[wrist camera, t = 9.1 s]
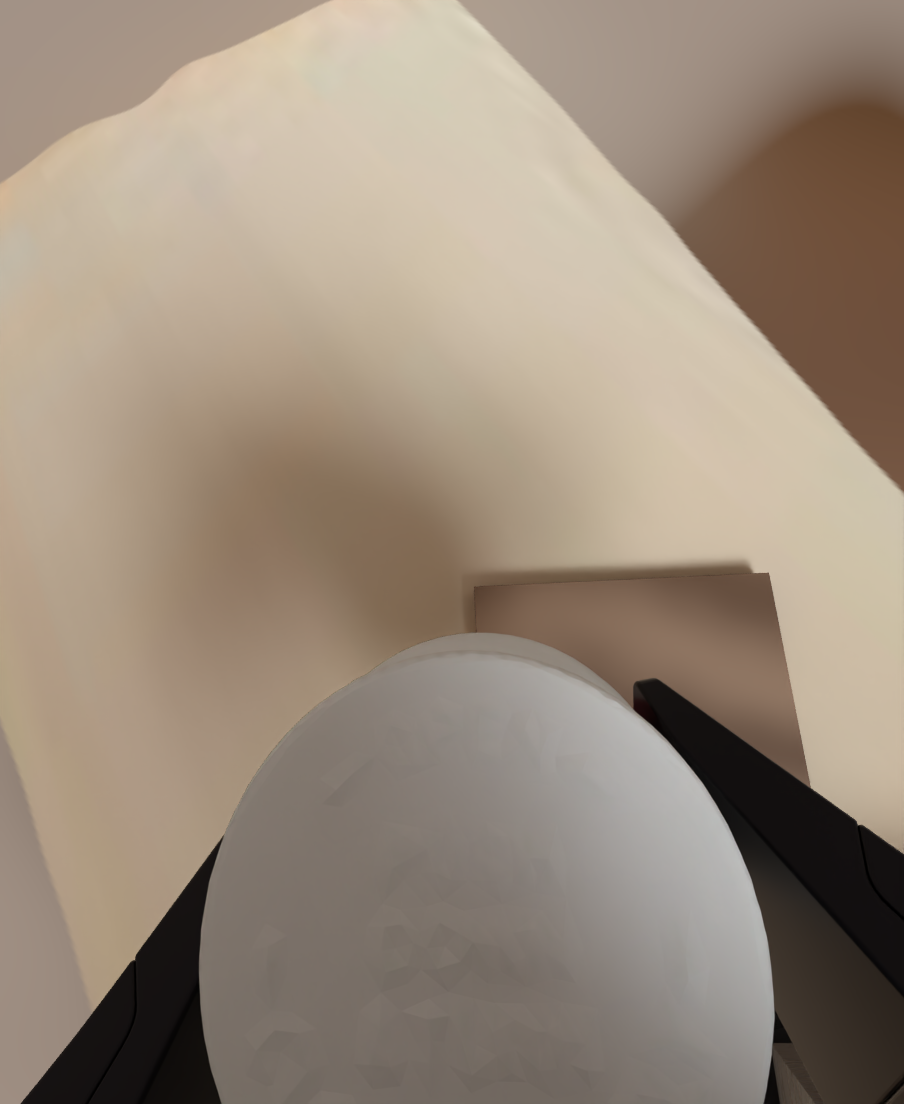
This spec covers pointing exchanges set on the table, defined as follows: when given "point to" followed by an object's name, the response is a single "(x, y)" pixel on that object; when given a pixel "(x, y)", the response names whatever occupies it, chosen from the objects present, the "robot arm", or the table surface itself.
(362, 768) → the pill bottle
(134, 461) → the table surface
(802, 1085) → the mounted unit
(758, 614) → the plate
